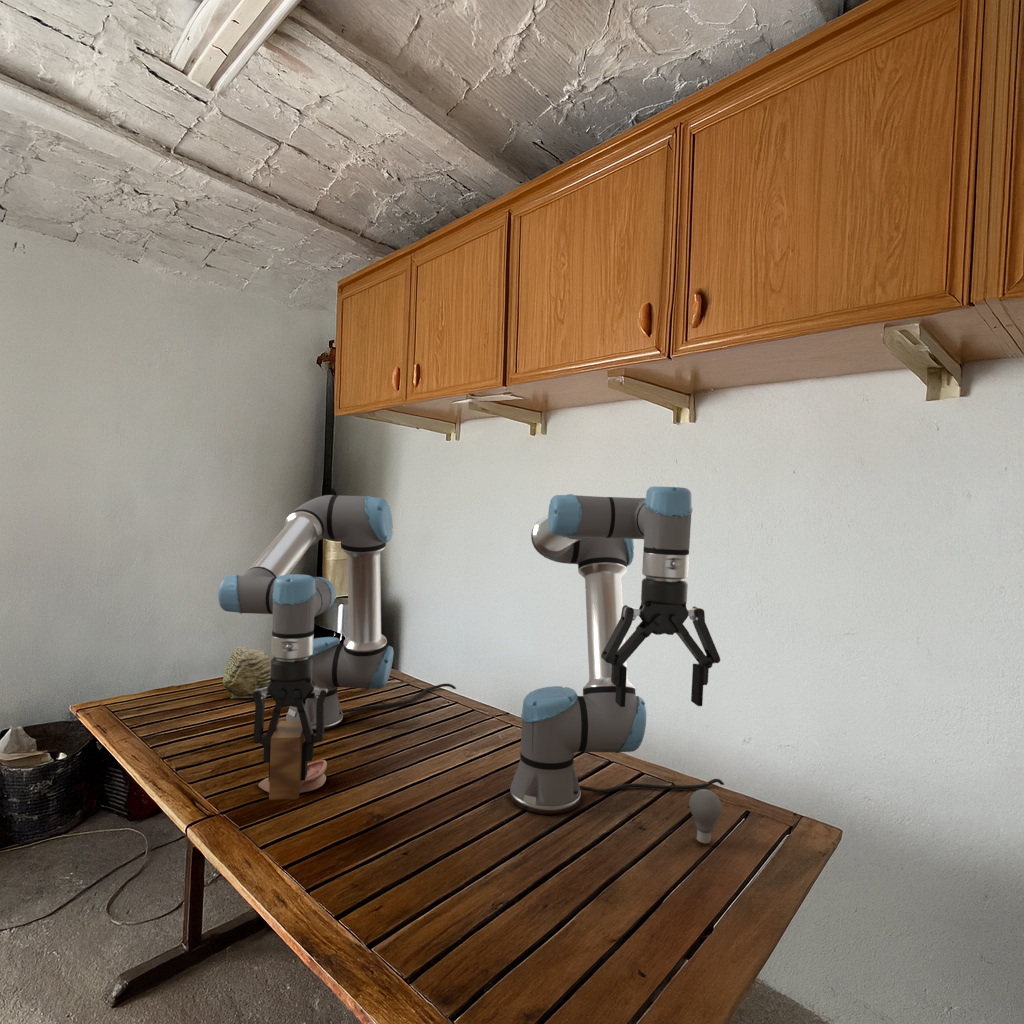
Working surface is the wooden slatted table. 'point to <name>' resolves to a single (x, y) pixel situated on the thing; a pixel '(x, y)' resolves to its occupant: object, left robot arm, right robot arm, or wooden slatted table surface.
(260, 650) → the fossil
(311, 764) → the anatomical model
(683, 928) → the wooden slatted table surface
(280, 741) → the brick
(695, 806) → the light bulb
